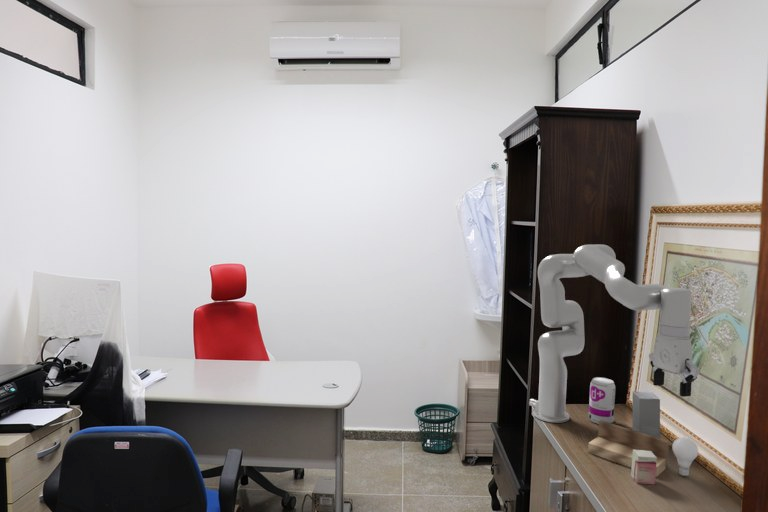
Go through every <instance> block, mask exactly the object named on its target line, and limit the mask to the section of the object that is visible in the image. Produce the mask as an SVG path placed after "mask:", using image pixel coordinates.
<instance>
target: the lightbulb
mask: <svg viewBox="0 0 768 512" xmlns="http://www.w3.org/2000/svg"><path fill="white" fill-rule="evenodd" d="M671 446H672V448H671V449H672V453H673V454H674V456H675V457H676V461H677V467H678V469H677V471H678V472H677V473H678V474H679V475H680V476H682V477H688V476H689V474H690V467H691V465H692V463H693V461H694V460H695V459H696V458H697V457H698V455H699V449H698V445H697V444H696V442H695V441H694V440H692V439H690V438H689V437H685V436H684V437H678V438H676V439H675V440H674V441H673V442H672V445H671Z"/></svg>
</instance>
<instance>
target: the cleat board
mask: <svg viewBox="0 0 768 512" xmlns="http://www.w3.org/2000/svg"><path fill="white" fill-rule="evenodd" d="M597 434H598V435H597V437H595V438H594V439H592V440H591V441H589V442H588V445H587V453H588V454H592V455H594V456H597V457H599V458H603V459H605V460H608V461H612V462H614V463H616V462H617V464H620V465H622V466H625V467H628V468H631V469H632V454H633V450H645V451H652V453H653V454H654V455H655V456H656V457H657V461H656V475H655V478H658V477H659V476H660V474H662V473H663V472H665V470H666V469H667V468H668V459H669V456H668V455H669V443H670V442H669V440H668V439H667V440H666V439H665V438H664V439H663V438H661V437H660V438H657V437H654V436H651V435H648V434H644V433H641V432H638V431H634V430H633V429H631V428H628V427H624V426H621V425H617V424H614V423H608V422H605V421H602V420H601V421H599V424H598V433H597Z"/></svg>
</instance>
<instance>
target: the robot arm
mask: <svg viewBox="0 0 768 512" xmlns="http://www.w3.org/2000/svg"><path fill="white" fill-rule="evenodd" d="M625 272H626V267H625V264H624V263H623V262H622V261H620V260H618V259H616V253H615V251H614V249H613V248H612V247H610V246H609V245H606V244H597V243H596V244H584V245H581V246H579V247H577V248H576V249H575V250H574V252H573V253H557V254H549V255H548V256H545V258H543V259H542V260H541V261H540V263H539V264H538V267H537V278H538V285H539V292H540V296H539V297H540V316H541V318H540V319H541V322H542V324H543V326H546V327H548V328H562V330H551V331H547V332H545V333H542V334H541V335H540V336H539V339H538V340H537V350H538V356H539V378H538V379H539V380H538V381H539V383H538V398H537V399H538V400H537V399H535V398H530V399H529V403H528V404H529V406H531V407H534V409H533V410H532V411H533V412H532V414H533V416H534V417H536V418H537V419H538V420H541V421H543V422H547V423H555V424H557V423H558V424H562V423H566V422H569V420H570V414H569V413H568V412H567V411H566V403H567V401H566V399H567V383H568V382H567V380H568V369H567V365H566V363H565V360H564V358H565V357H570V356H571V357H572V356H576V355H579V354H581V352H583V350H584V347H585V320H584V319H585V317H584V316H585V315H584V312H583V309H582V307H581V306H580V304H579V303H578V302H576V301H574V300H569V299H567V300H566V296H565V294H566V291H565V287H564V284H563V283H562V281H561V280H560V279H563V278H565V279H566V278H580V277H586V276H592V277H593V278H595V279H596V280H597V281H599V282H601V283H603V284H604V286H605V289H606V291H607V292H608V294H609V295H610V297H612V298H613V299H614V301H616V302H618V303H620V304H622V306H624V307H626V308H628V309H630V310H632V311H636V312H641V311H654V310H659V311H660V312H659V313H660V314H659V325H658V328H659V331H658V333H656V337H655V341H654V345H653V352H651V353H649V354H648V358H649V361H650V362H649V364H650V366H651V370H652V372H653V381H652V382H653V383H652V385H654V387H657V386H664V385H665V372H668V373H671V374H673V375H678V376H679V379H680V380H681V381H680V383H679V396H680V397H691V395H692V384H693V383H694V381H695V380H697V379H698V376H699V374H700V373H701V372H700V371H701V370H700V369H699V368H698V367H697V366H696V365H695V364H694V363H693V347H692V346H693V345H692V340H691V338H690V334H691V315H692V292H691V290H689V289H687V288H683V287H676V286H675V287H673V286H672V287H671V286H667V285H664V284H658V283H651V284H650V283H649V284H636V283H634V282H632V280H629V279H627V278H626V277H624V275H625Z"/></svg>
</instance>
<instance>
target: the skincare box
mask: <svg viewBox="0 0 768 512" xmlns="http://www.w3.org/2000/svg"><path fill="white" fill-rule="evenodd" d="M632 430H634V431H638V432H641V433H644V434H648V435H651V436H654V437H657V438H661V399H660V398H659V397H658V396H657V395H656V394H655V393H654V392H653V391H636V390H635V391H634V390H633V391H632Z"/></svg>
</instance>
